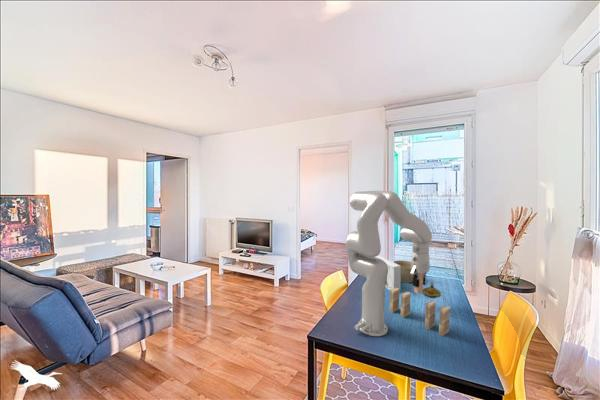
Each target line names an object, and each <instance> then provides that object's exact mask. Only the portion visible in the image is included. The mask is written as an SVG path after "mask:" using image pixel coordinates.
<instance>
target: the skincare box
mask: <svg viewBox="0 0 600 400" xmlns="http://www.w3.org/2000/svg"><path fill="white" fill-rule="evenodd" d="M376 258H379V259H381V260H383V261H384V262H385V263H386V264H387V266H388V274H387V278H386V283H385V289H387V290H389V291H390V290H391V289H394V288H399V293H401V285H402V284H401V266H400V265H398V264H396V263H394V261H391V260H389V259H387V258H385V257H383V256H380V255H378V256H376Z"/></svg>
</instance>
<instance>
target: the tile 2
mask: <svg viewBox="0 0 600 400" xmlns="http://www.w3.org/2000/svg"><path fill="white" fill-rule="evenodd" d="M415 272H416V273H417V271H415ZM415 275H417V274H415ZM423 278H424V274H420V275H419V287H415V286H413V287H414V289H413V290H414V291H413V292H414V293H416V294H419V293H423V292H422V291H423V289H424V285H423Z"/></svg>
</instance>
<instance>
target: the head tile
mask: <svg viewBox="0 0 600 400" xmlns="http://www.w3.org/2000/svg"><path fill="white" fill-rule="evenodd" d="M399 310H400V292H399V288H394V289H391V290H389V312H390V313H392V314H393V313H395V312H398V311H399Z"/></svg>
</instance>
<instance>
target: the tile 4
mask: <svg viewBox="0 0 600 400" xmlns="http://www.w3.org/2000/svg"><path fill="white" fill-rule="evenodd" d="M450 309H451V307H450V306H447V305H444V306H442V307H441V308H439V319H438V320H439V321H438V335H439V336H442V337H444V336H445V335H447V334H448V333H449V332H450V316H451V315H450V314H451V311H450Z"/></svg>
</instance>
